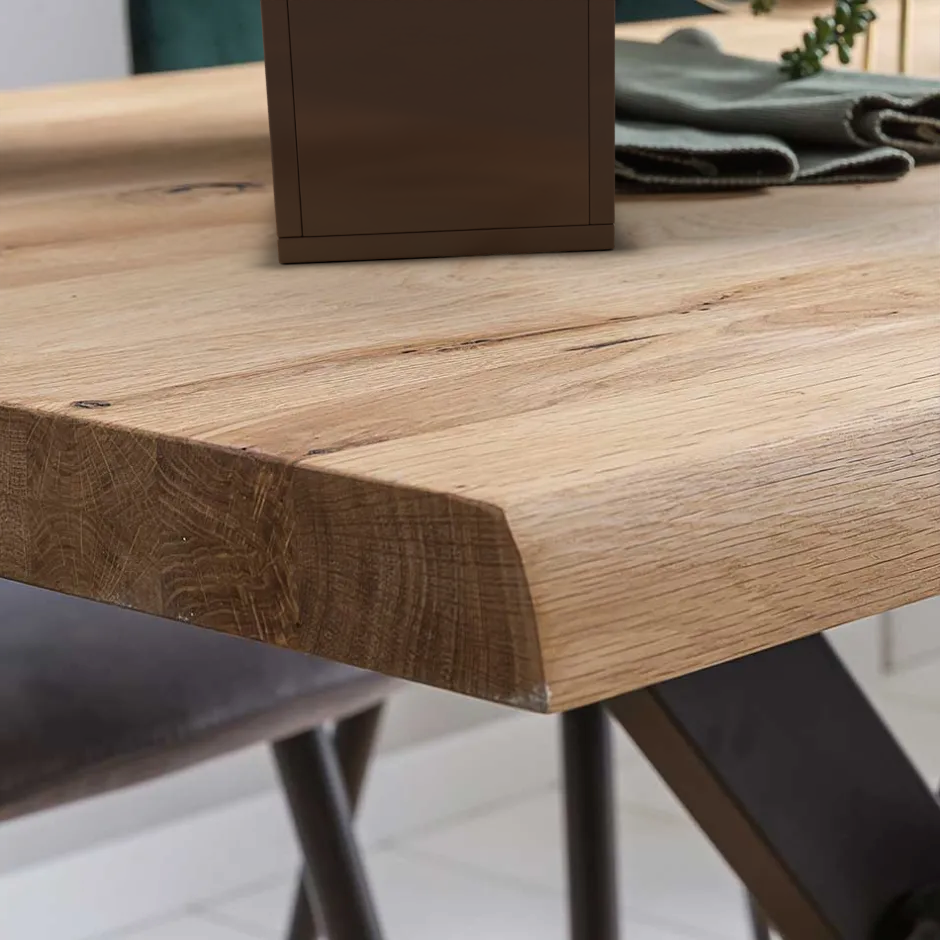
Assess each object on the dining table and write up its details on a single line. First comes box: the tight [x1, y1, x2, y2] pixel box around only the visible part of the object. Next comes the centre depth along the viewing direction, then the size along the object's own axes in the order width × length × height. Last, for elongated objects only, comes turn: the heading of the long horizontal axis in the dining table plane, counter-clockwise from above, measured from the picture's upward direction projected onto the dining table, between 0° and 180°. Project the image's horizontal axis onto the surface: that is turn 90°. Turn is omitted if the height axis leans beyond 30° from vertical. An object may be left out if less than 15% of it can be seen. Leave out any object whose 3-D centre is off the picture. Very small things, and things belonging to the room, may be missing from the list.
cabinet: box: [259, 0, 616, 264], centre depth 60 cm, size 14×12×10 cm
